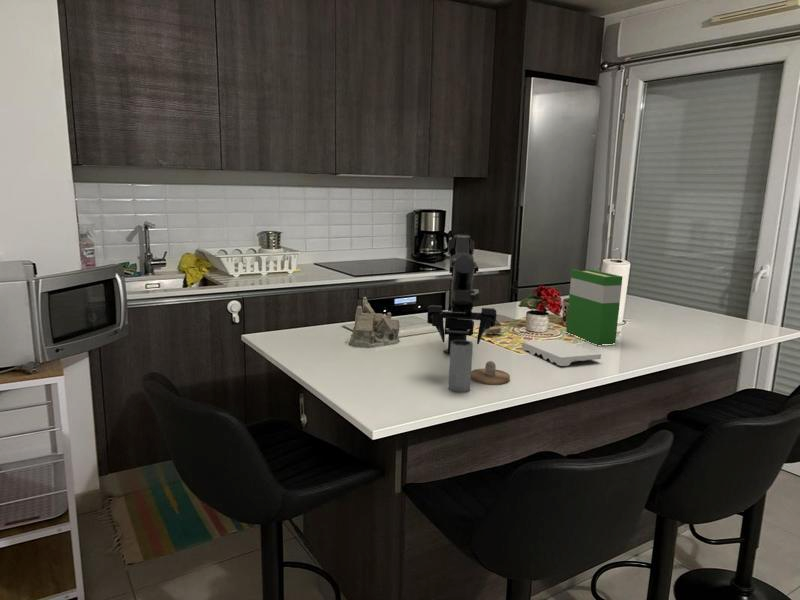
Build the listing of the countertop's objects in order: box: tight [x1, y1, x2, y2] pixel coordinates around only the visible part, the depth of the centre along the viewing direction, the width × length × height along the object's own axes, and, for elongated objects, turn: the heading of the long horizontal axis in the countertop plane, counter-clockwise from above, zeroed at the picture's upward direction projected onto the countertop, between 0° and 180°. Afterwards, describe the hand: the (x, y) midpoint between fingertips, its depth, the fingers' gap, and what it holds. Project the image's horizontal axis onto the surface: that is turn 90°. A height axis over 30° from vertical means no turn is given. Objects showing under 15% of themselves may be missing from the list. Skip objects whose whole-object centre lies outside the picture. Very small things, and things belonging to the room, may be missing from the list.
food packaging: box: [521, 339, 602, 367], centre depth 188 cm, size 15×3×20 cm
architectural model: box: [484, 314, 504, 335], centre depth 211 cm, size 3×7×7 cm, turn 122°
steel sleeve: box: [447, 339, 474, 393], centre depth 154 cm, size 6×6×12 cm
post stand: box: [471, 360, 511, 386], centre depth 164 cm, size 11×11×5 cm
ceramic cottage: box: [348, 296, 401, 349], centre depth 196 cm, size 16×16×15 cm
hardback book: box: [565, 268, 623, 345], centre depth 209 cm, size 18×7×24 cm, turn 21°
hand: (460, 342), depth 158 cm, fingers open, 9 cm apart
